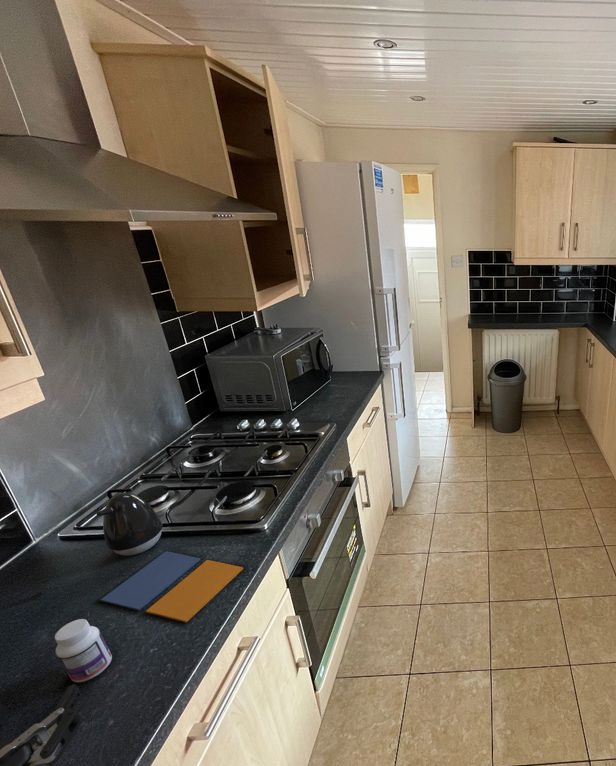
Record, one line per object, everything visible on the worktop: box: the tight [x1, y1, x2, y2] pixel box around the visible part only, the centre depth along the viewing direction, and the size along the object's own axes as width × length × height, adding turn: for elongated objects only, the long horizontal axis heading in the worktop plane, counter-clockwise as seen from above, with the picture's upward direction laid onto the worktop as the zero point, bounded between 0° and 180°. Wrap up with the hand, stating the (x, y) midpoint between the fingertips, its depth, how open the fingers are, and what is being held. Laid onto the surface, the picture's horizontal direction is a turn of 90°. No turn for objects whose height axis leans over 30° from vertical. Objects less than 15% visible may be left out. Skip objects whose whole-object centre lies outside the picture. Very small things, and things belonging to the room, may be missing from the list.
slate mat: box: [100, 550, 201, 611], centre depth 92 cm, size 14×10×1 cm
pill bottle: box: [54, 618, 113, 683], centre depth 72 cm, size 5×5×10 cm
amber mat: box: [145, 559, 244, 623], centre depth 89 cm, size 14×10×1 cm
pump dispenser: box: [95, 492, 163, 556], centre depth 98 cm, size 10×10×15 cm
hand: (39, 698), depth 63 cm, fingers open, 8 cm apart
